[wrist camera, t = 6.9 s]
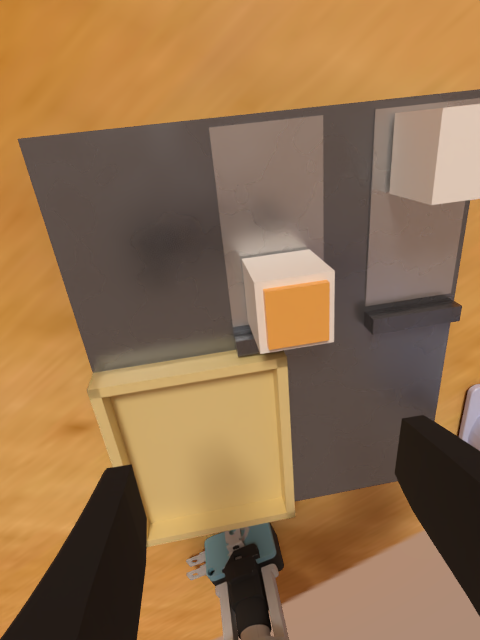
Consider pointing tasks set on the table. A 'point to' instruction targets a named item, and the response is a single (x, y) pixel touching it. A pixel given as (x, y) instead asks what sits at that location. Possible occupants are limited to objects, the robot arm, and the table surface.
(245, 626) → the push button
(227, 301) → the breaker panel
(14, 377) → the table surface
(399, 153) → the block
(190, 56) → the table surface
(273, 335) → the breaker
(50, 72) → the table surface
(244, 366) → the tray
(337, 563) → the table surface
